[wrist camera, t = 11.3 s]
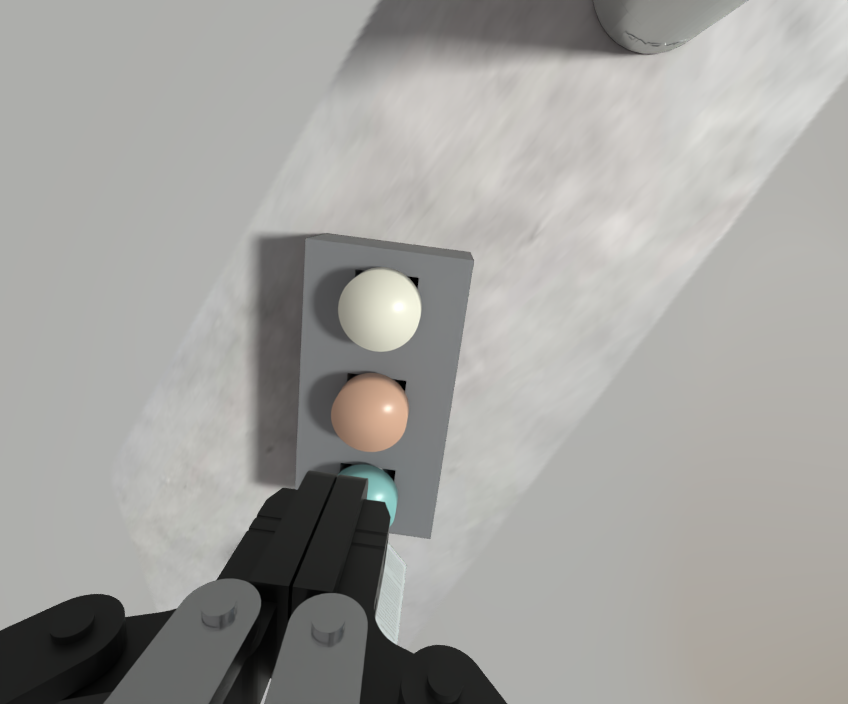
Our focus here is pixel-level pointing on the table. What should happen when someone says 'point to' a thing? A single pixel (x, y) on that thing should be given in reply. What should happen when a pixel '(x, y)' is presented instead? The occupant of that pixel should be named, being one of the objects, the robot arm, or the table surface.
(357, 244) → the mount
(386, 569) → the skincare box
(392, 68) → the table surface
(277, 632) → the robot arm
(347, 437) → the knob mid
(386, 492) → the knob
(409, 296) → the knob
